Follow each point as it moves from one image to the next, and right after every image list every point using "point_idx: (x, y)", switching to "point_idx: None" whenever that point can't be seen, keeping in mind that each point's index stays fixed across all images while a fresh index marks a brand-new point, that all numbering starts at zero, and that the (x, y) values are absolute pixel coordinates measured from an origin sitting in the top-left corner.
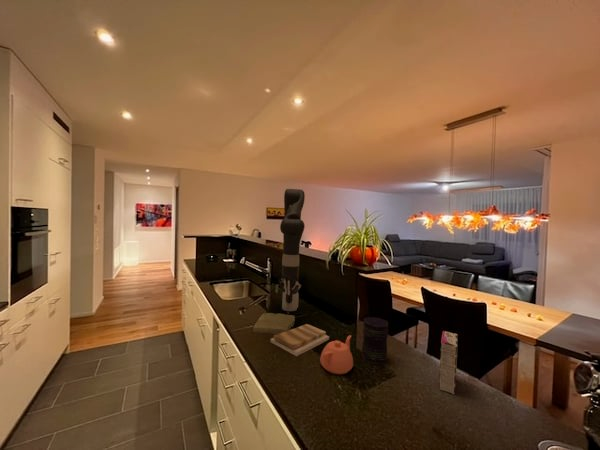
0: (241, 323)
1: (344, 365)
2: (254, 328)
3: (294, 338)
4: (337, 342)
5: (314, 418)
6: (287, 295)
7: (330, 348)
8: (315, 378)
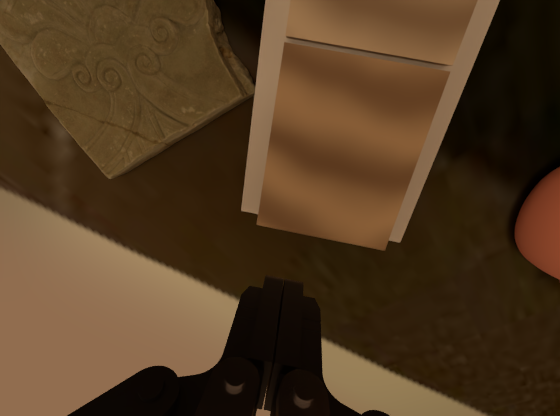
0: (10, 138)
1: None
2: (114, 177)
3: (352, 189)
4: None
5: (540, 403)
6: (265, 403)
7: None
8: (508, 303)
